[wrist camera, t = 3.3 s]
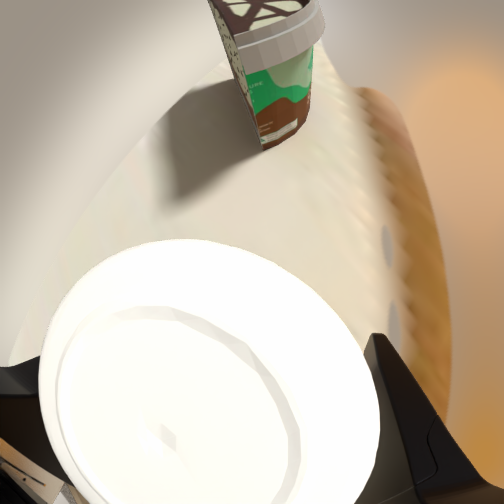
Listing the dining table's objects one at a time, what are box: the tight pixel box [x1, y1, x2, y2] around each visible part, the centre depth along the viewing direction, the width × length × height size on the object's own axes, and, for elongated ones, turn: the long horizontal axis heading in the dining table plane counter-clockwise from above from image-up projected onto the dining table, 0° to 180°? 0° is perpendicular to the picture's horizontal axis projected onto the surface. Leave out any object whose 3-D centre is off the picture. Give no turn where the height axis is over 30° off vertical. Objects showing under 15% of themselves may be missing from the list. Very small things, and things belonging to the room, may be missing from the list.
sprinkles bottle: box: [38, 239, 380, 504], centre depth 9 cm, size 5×5×14 cm
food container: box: [208, 0, 325, 150], centre depth 15 cm, size 12×6×10 cm, turn 15°
